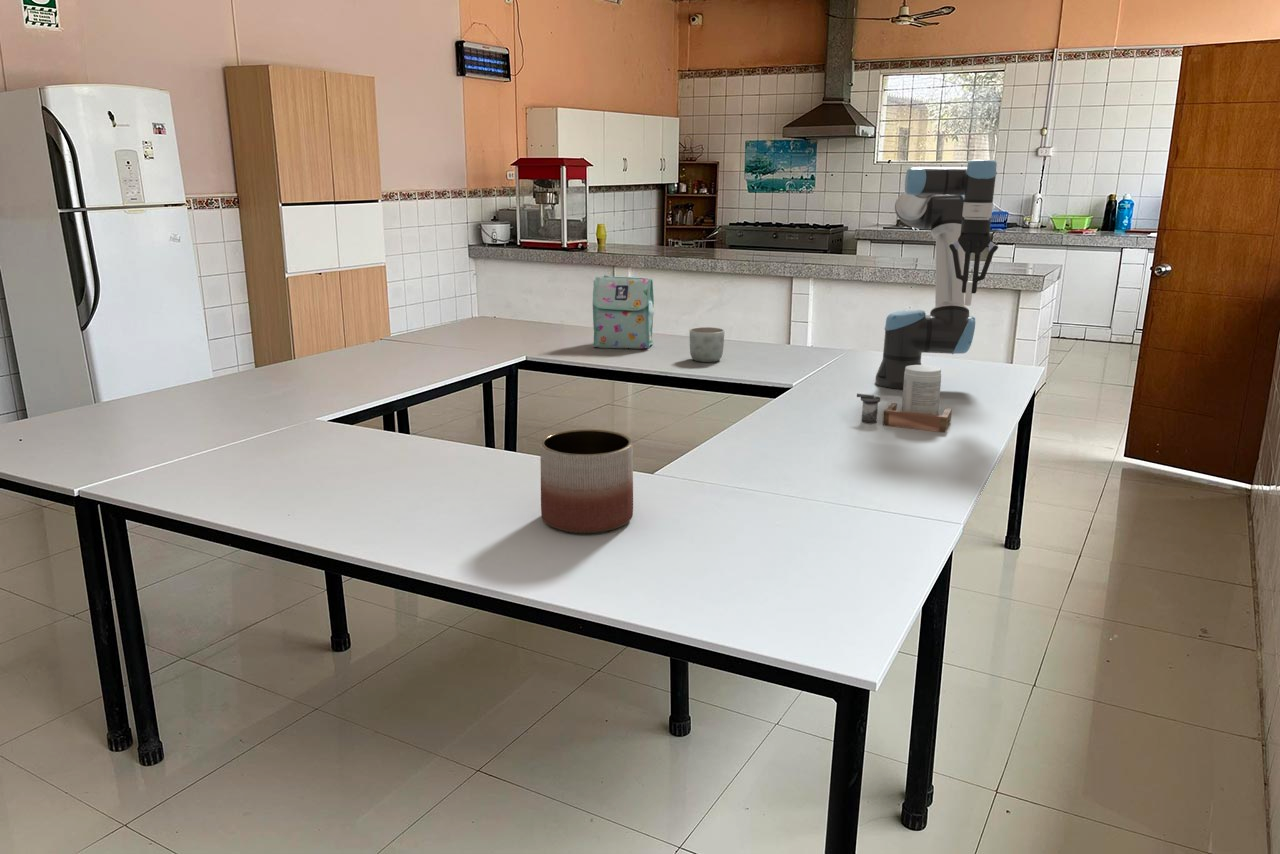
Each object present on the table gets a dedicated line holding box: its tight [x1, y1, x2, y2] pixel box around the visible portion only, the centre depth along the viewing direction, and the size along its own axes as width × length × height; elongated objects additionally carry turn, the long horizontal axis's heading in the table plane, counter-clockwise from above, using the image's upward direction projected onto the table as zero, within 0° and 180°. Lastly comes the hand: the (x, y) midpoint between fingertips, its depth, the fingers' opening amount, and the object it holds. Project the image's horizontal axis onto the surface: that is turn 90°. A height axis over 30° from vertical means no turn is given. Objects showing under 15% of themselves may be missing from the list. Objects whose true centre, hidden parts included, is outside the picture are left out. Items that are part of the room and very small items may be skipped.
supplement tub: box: [901, 364, 942, 415], centre depth 247 cm, size 10×10×15 cm
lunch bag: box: [592, 274, 655, 350], centre depth 348 cm, size 23×16×27 cm
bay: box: [882, 402, 952, 433], centre depth 246 cm, size 12×16×4 cm
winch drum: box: [856, 393, 882, 425], centre depth 247 cm, size 5×6×7 cm
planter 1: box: [539, 428, 634, 535], centre depth 175 cm, size 18×18×16 cm
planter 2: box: [689, 326, 725, 363], centre depth 325 cm, size 12×12×11 cm
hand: (967, 304), depth 256 cm, fingers closed
